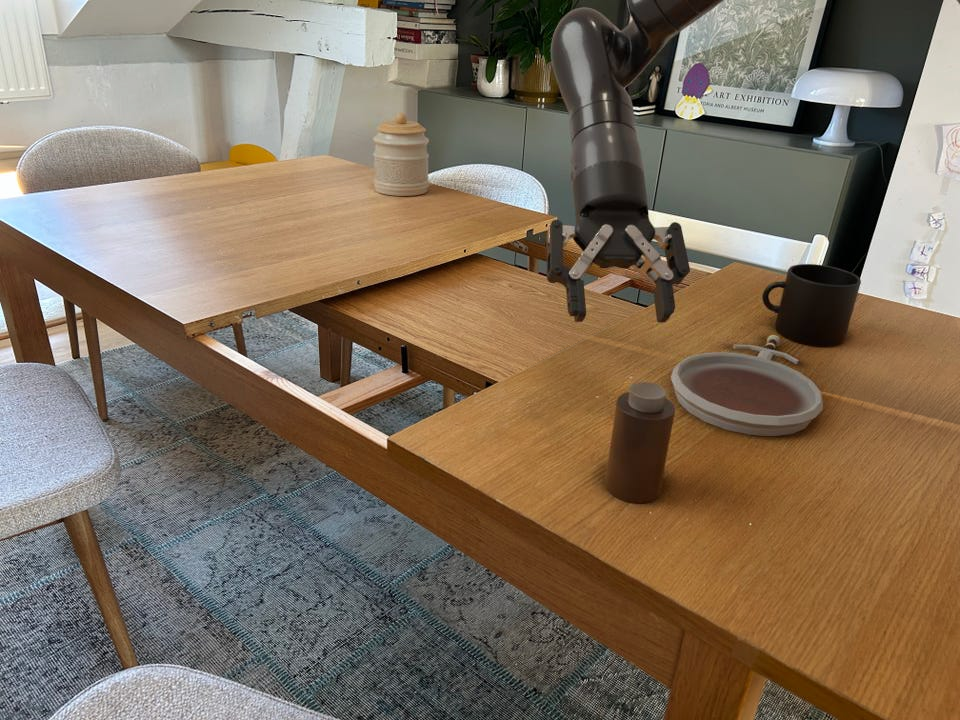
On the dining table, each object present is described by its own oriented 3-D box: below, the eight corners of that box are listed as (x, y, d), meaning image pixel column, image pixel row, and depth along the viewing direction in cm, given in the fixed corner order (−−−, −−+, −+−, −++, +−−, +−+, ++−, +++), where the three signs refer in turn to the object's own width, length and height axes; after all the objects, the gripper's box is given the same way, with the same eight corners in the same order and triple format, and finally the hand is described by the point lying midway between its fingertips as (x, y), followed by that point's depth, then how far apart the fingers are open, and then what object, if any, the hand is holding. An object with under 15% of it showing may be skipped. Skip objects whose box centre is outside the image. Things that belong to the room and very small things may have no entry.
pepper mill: (666, 481, 71) (684, 385, 66) (651, 510, 67) (669, 410, 62) (615, 465, 73) (629, 371, 68) (597, 492, 69) (610, 394, 64)
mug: (759, 313, 112) (772, 256, 108) (844, 329, 108) (860, 270, 104) (752, 335, 104) (766, 275, 100) (844, 353, 100) (861, 291, 96)
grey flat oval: (843, 344, 97) (814, 433, 75) (838, 364, 98) (807, 457, 76) (714, 315, 104) (652, 387, 82) (710, 334, 106) (649, 410, 83)
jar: (430, 185, 180) (431, 110, 173) (427, 198, 169) (428, 118, 161) (376, 183, 180) (375, 107, 172) (370, 195, 168) (369, 115, 160)
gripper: (548, 155, 74) (559, 304, 69) (685, 159, 75) (706, 305, 70) (535, 195, 81) (545, 333, 76) (661, 198, 82) (678, 333, 77)
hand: (622, 319), depth 73 cm, fingers open, 8 cm apart
